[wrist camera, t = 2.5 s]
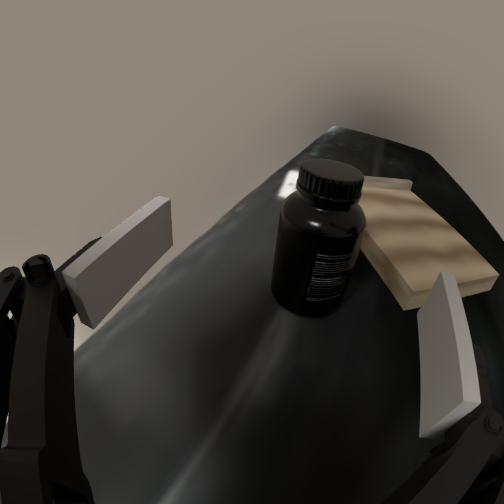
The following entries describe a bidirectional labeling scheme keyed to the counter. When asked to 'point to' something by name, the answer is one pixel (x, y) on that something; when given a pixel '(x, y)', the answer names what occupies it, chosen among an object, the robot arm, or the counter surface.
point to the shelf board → (416, 244)
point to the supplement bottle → (318, 238)
